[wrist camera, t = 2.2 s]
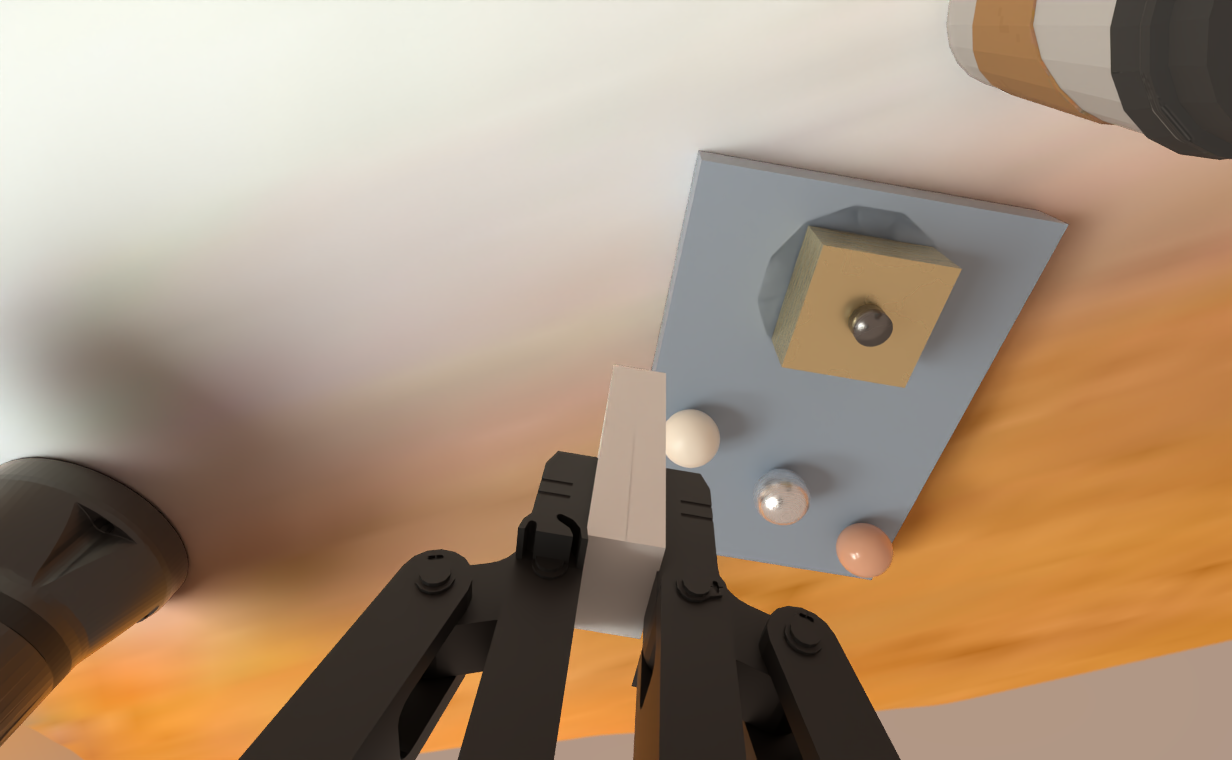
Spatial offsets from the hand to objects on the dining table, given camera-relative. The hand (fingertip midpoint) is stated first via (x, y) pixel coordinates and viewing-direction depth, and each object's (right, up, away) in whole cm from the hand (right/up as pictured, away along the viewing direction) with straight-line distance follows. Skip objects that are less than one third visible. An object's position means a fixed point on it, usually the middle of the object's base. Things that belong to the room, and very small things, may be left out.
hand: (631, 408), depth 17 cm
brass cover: (+11, +5, +12) cm, 17 cm away
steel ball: (+9, -6, +17) cm, 20 cm away
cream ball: (+4, -2, +15) cm, 16 cm away
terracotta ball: (+14, -9, +18) cm, 25 cm away
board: (+10, 0, +18) cm, 20 cm away
